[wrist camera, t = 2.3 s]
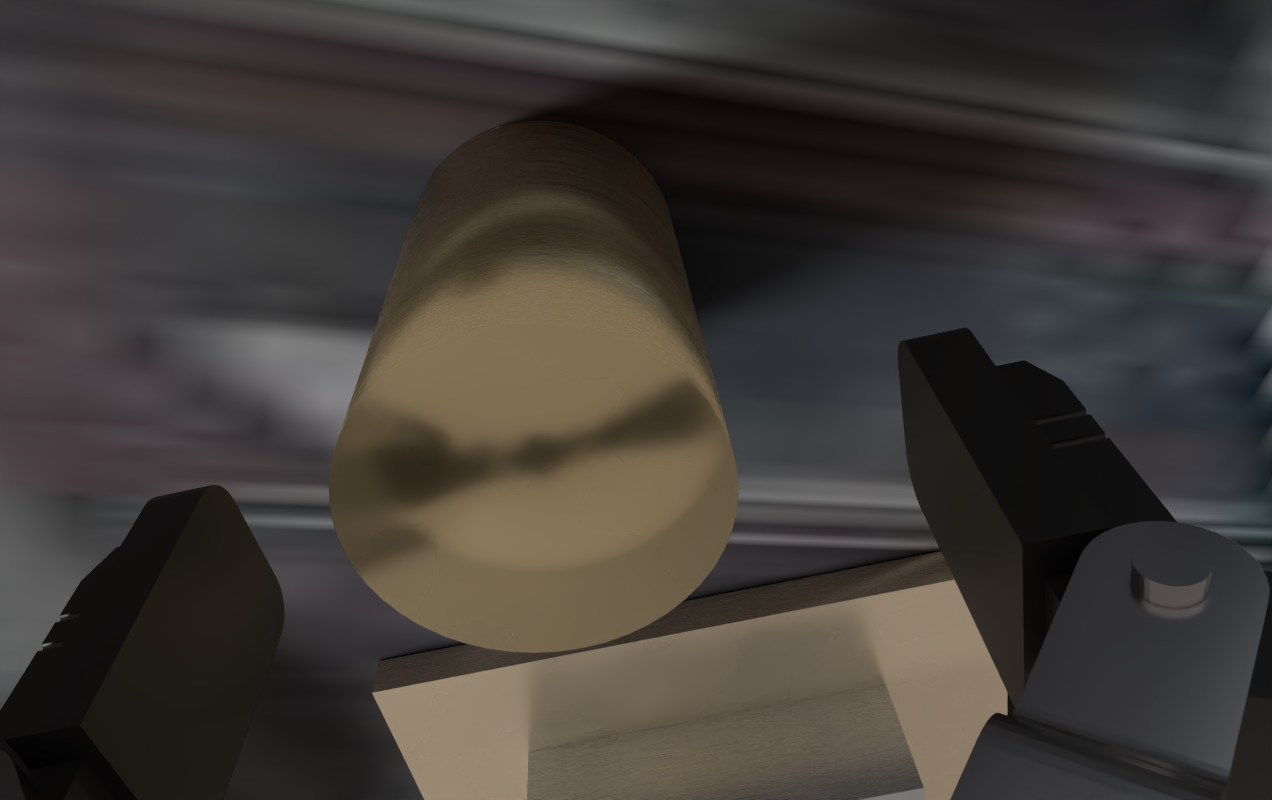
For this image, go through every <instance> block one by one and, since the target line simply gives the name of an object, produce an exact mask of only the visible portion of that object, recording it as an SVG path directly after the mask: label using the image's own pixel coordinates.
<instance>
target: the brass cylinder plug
mask: <svg viewBox="0 0 1272 800" xmlns="http://www.w3.org/2000/svg"><path fill="white" fill-rule="evenodd" d="M738 489H739V486H738V476H737V466H736V462H735V458H734V454H733V450H732V447H731V443H730V439H729V435H728V432H727V428H726V424H725V420H724V416H723V413H722V409H721V405H720V401H719V398H718V394H717V390H716V386H715V383H714V379H713V375H712V371H711V367H710V364H709V360H708V356H707V352H706V349H705V345H704V341H703V337H702V334H701V330H700V326H699V322H698V318H697V315H696V311H695V307H694V303H693V300H692V296H691V292H690V288H689V285H688V281H687V277H686V273H685V269H684V266H683V262H682V258H681V254H680V251H679V247H678V243H677V239H676V236H675V232H674V228H673V224H672V220H671V217H670V213H669V209H668V206H667V204H666V202H665V199H664V197H663V194H662V192H661V191H660V189H659V187H658V185H657V184H656V182H655V180H654V179H653V177H652V176H651V175H650V174H649V172H648V171H647V170H646V168H645V167H644V166H643V165H642V164H641V163H640V162H639V161H638V160H637V159H636V158H635V157H634V156H633V155H632V154H631V153H630V152H628V151H627V150H626V149H624V148H623V147H622V146H620V145H619V144H618V143H616V142H614V141H613V140H611V139H609V138H607V137H605V136H604V135H602V134H600V133H597V132H595V131H592V130H590V129H587V128H584V127H581V126H577V125H573V124H569V123H565V122H556V121H547V120H544V121H524V122H517V123H510V124H507V125H503V126H500V127H497V128H493V129H491V130H488V131H486V132H484V133H482V134H479V135H477V136H475V137H474V138H472V139H470V140H469V141H467V142H466V143H464V144H462V145H461V146H460V147H458V148H457V149H456V150H455V151H454V152H452V153H451V154H450V155H449V156H448V157H447V158H446V159H445V160H444V161H443V162H442V163H441V164H440V165H439V166H438V168H437V169H436V170H435V172H434V173H433V174H432V176H431V177H430V179H429V180H428V182H427V183H426V185H425V188H424V190H423V192H422V194H421V196H420V198H419V201H418V204H417V207H416V210H415V213H414V215H413V218H412V221H411V224H410V227H409V230H408V233H407V236H406V239H405V242H404V245H403V248H402V251H401V254H400V257H399V260H398V263H397V266H396V269H395V272H394V275H393V278H392V281H391V284H390V287H389V290H388V293H387V296H386V298H385V301H384V304H383V307H382V310H381V313H380V316H379V319H378V322H377V325H376V328H375V331H374V334H373V337H372V340H371V343H370V346H369V349H368V352H367V355H366V358H365V361H364V364H363V367H362V370H361V373H360V376H359V379H358V382H357V384H356V387H355V390H354V393H353V396H352V399H351V402H350V405H349V408H348V411H347V414H346V417H345V420H344V423H343V426H342V429H341V432H340V435H339V438H338V441H337V444H336V447H335V451H334V454H333V457H332V461H331V468H330V476H329V504H330V509H331V514H332V519H333V524H334V527H335V530H336V533H337V535H338V538H339V541H340V543H341V546H342V548H343V550H344V551H345V553H346V555H347V557H348V559H349V560H350V562H351V564H352V565H353V567H354V568H355V569H356V571H357V572H358V573H359V575H360V576H361V577H362V579H363V580H364V581H365V583H366V584H367V585H368V586H369V587H370V588H371V589H372V590H373V591H374V592H375V593H376V594H377V595H378V596H379V597H380V598H381V599H383V600H384V601H385V602H386V603H388V604H389V605H390V606H392V607H393V608H394V609H395V610H397V611H398V612H399V613H401V614H402V615H404V616H406V617H407V618H409V619H411V620H412V621H414V622H415V623H417V624H419V625H421V626H423V627H425V628H427V629H429V630H431V631H433V632H436V633H438V634H440V635H442V636H445V637H448V638H451V639H454V640H457V641H460V642H462V643H466V644H470V645H475V646H479V647H483V648H487V649H495V650H502V651H509V652H527V653H541V652H559V651H566V650H573V649H580V648H585V647H589V646H593V645H597V644H601V643H605V642H608V641H611V640H614V639H617V638H620V637H622V636H625V635H628V634H630V633H632V632H634V631H636V630H639V629H641V628H643V627H645V626H647V625H649V624H651V623H652V622H654V621H655V620H657V619H659V618H660V617H662V616H664V615H665V614H667V613H668V612H670V611H671V610H672V609H674V608H675V607H676V606H677V605H679V604H680V603H681V602H683V601H684V600H685V599H686V598H687V597H688V596H689V595H690V594H691V593H692V592H693V591H694V590H695V589H696V588H697V587H698V586H699V585H700V584H701V583H702V582H703V580H704V579H705V578H706V577H707V575H708V574H709V573H710V571H711V570H712V569H713V568H714V566H715V564H716V563H717V561H718V559H719V557H720V556H721V554H722V552H723V551H724V549H725V546H726V544H727V541H728V539H729V536H730V534H731V531H732V529H733V525H734V520H735V516H736V511H737V504H738Z"/></svg>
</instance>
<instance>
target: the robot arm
mask: <svg viewBox="0 0 1272 800" xmlns="http://www.w3.org/2000/svg"><path fill="white" fill-rule="evenodd" d="M898 366H899V377H900V389H901V400H902V411H903V422H904V433H905V444H906V454H907V461H908V467H909V472H910V476H911V480H912V484H913V487H914V491H915V494H916V497H917V500H918V502H919V505H920V507H921V509H922V511H923V514H924V516H925V518H926V520H927V522H928V524H929V526H930V528H931V531H932V533H933V535H934V537H935V539H936V541H937V543H938V545H939V548H940V550H941V552H942V554H943V556H944V558H945V560H946V562H947V565H948V567H949V569H950V571H951V573H952V575H953V577H954V579H955V582H956V584H957V586H958V588H959V590H960V592H961V594H962V597H963V599H964V601H965V603H966V605H967V607H968V609H969V611H970V614H971V616H972V618H973V620H974V622H975V624H976V626H977V628H978V631H979V633H980V635H981V637H982V639H983V641H984V643H985V645H986V648H987V650H988V652H989V654H990V656H991V658H992V660H993V662H994V665H995V667H996V669H997V671H998V673H999V675H1000V677H1001V680H1002V682H1003V684H1004V686H1005V688H1006V690H1007V692H1008V694H1009V697H1010V699H1011V701H1012V703H1013V705H1014V707H1015V710H1014V712H1013V714H1012V715H1011V716H1007V715H1004V714H1001V713H998V712H997V713H995V714H993V715H992V716H991V717H990V718H989V719H988V721H987V722H986V724H985V725H984V727H983V729H982V730H981V732H980V734H979V736H978V738H977V741H976V743H975V745H974V747H973V749H972V752H971V754H970V756H969V759H968V761H967V763H966V765H965V768H964V770H963V772H962V774H961V777H960V779H959V781H958V783H957V786H956V788H955V790H954V792H953V795H952V797H951V799H950V800H1272V572H1268V571H1263V569H1262V567H1261V566H1260V564H1259V563H1258V562H1257V561H1256V559H1255V558H1254V557H1253V556H1252V555H1251V554H1249V553H1248V552H1247V551H1246V550H1245V549H1244V548H1242V547H1241V546H1239V545H1238V544H1236V543H1235V542H1233V541H1232V540H1230V539H1228V538H1226V537H1224V536H1222V535H1220V534H1218V533H1215V532H1212V531H1210V530H1207V529H1204V528H1201V527H1197V526H1193V525H1189V524H1183V523H1177V521H1176V520H1175V519H1174V518H1173V516H1172V515H1171V514H1170V513H1169V511H1168V510H1167V509H1166V508H1165V507H1164V505H1163V504H1162V503H1161V502H1160V500H1159V499H1158V498H1157V497H1156V495H1155V494H1154V493H1153V492H1152V490H1151V489H1150V488H1149V487H1148V485H1147V484H1146V483H1145V482H1144V480H1143V479H1142V478H1141V477H1140V476H1139V474H1138V473H1137V472H1136V471H1135V469H1134V468H1133V467H1132V466H1131V464H1130V463H1129V462H1128V461H1127V459H1126V458H1125V457H1124V456H1123V454H1122V453H1121V452H1120V451H1119V449H1118V448H1117V447H1116V446H1115V445H1114V443H1113V442H1112V441H1111V440H1110V438H1107V439H1106V437H1105V433H1104V431H1103V430H1102V428H1101V427H1100V426H1099V425H1098V423H1097V422H1096V421H1095V420H1094V418H1093V417H1092V416H1091V415H1090V414H1089V415H1087V413H1086V409H1085V407H1084V406H1083V405H1082V404H1081V402H1080V401H1079V400H1078V399H1077V397H1076V396H1075V395H1074V394H1073V392H1072V391H1071V390H1070V389H1069V387H1068V386H1067V385H1066V384H1065V382H1064V381H1063V380H1061V379H1059V378H1057V377H1055V376H1053V375H1051V374H1049V373H1047V372H1046V371H1044V370H1042V369H1040V368H1038V367H1036V366H1034V365H1032V364H1030V363H1028V362H1027V361H1025V360H1024V361H1019V362H1014V363H1009V364H1005V365H1000V366H995V364H994V363H993V362H992V360H991V359H990V357H989V356H988V355H987V353H986V352H985V350H984V349H983V348H982V346H981V345H980V343H979V342H978V341H977V339H976V338H975V336H974V335H973V334H972V332H971V331H970V330H969V329H968V328H961V329H956V330H952V331H947V332H942V333H937V334H933V335H928V336H923V337H918V338H914V339H909V340H904V341H901V342H900V343H899V346H898ZM60 618H61V621H60V622H55V624H54V625H53V627H52V629H51V630H50V632H49V634H48V635H47V637H46V638H45V640H44V642H43V643H42V645H43V650H42V651H37V653H36V654H35V656H34V658H33V659H32V661H31V662H30V664H29V666H28V667H27V669H26V670H25V672H24V674H23V675H22V677H21V679H20V680H19V682H18V683H17V685H16V687H15V688H14V690H13V691H12V693H11V695H10V696H9V698H8V699H7V701H6V703H5V704H4V706H3V707H2V709H1V711H0V800H223V799H224V796H225V793H226V790H227V787H228V785H229V782H230V779H231V776H232V773H233V770H234V767H235V765H236V762H237V759H238V756H239V753H240V750H241V747H242V745H243V742H244V739H245V736H246V733H247V730H248V727H249V724H250V722H251V719H252V716H253V713H254V710H255V707H256V704H257V702H258V699H259V696H260V693H261V690H262V687H263V684H264V682H265V679H266V676H267V673H268V670H269V667H270V664H271V662H272V659H273V656H274V653H275V650H276V647H277V644H278V641H279V639H280V636H281V633H282V629H283V624H284V602H283V596H282V592H281V588H280V585H279V582H278V580H277V578H276V576H275V574H274V572H273V570H272V569H271V567H270V565H269V563H268V561H267V559H266V558H265V556H264V554H263V552H262V550H261V548H260V547H259V545H258V543H257V541H256V539H255V538H254V536H253V534H252V532H251V530H250V528H249V527H248V525H247V523H246V521H245V519H244V517H243V516H242V514H241V512H240V510H239V508H238V506H237V505H236V503H235V501H234V499H233V498H232V496H231V495H230V494H229V492H228V491H227V490H225V489H224V488H223V487H221V486H219V485H210V486H206V487H201V488H196V489H191V490H187V491H182V492H177V493H172V494H168V495H163V496H158V497H155V498H152V499H151V500H149V501H148V502H147V504H146V505H145V506H144V508H143V510H142V511H141V513H140V515H139V516H138V518H137V520H136V521H135V523H134V525H133V526H132V528H131V530H130V531H129V533H128V535H127V536H126V538H125V540H124V541H123V543H122V545H121V546H120V547H117V548H115V549H114V550H113V551H112V552H111V553H110V554H109V555H108V556H107V557H106V558H105V559H104V560H103V561H102V562H101V563H100V564H99V565H98V566H96V567H95V568H94V569H93V570H92V571H91V572H90V573H89V574H88V575H87V576H86V577H85V578H84V579H83V580H82V581H81V582H80V584H79V585H78V587H77V589H76V590H75V592H74V593H73V595H72V597H71V598H70V600H69V601H68V603H67V605H66V606H65V608H64V609H63V611H62V613H61V614H60Z"/></svg>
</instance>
